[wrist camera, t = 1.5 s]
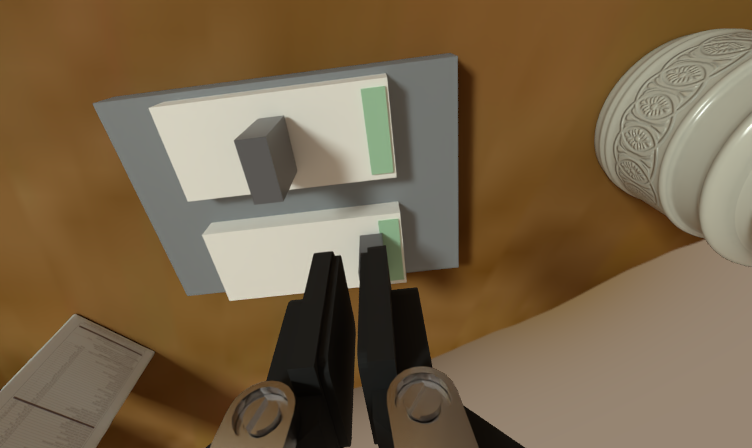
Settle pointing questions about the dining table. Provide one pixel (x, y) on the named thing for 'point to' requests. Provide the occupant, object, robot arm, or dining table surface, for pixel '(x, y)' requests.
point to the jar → (687, 136)
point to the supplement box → (70, 388)
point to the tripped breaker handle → (267, 159)
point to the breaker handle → (369, 244)
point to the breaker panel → (410, 186)
